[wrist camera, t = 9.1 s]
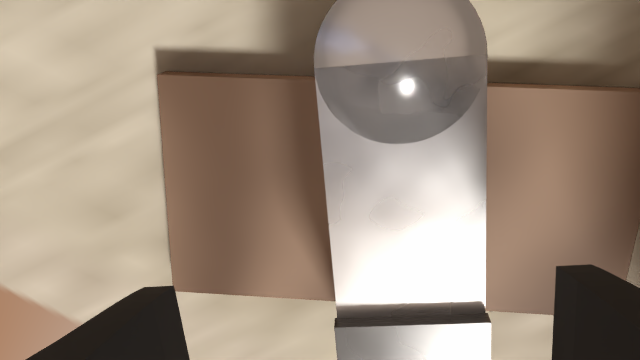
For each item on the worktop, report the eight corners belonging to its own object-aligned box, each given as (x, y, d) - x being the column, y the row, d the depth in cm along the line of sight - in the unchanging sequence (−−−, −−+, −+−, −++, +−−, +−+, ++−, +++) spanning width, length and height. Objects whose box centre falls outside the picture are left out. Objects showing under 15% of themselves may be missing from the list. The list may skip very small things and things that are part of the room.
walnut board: (179, 280, 21) (173, 291, 20) (165, 71, 19) (157, 74, 18) (607, 306, 20) (616, 318, 19) (657, 88, 17) (670, 93, 17)
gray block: (354, 342, 21) (349, 489, 15) (325, -18, 16) (301, -22, 10) (452, 339, 20) (489, 488, 14) (446, -30, 16) (495, -41, 10)
